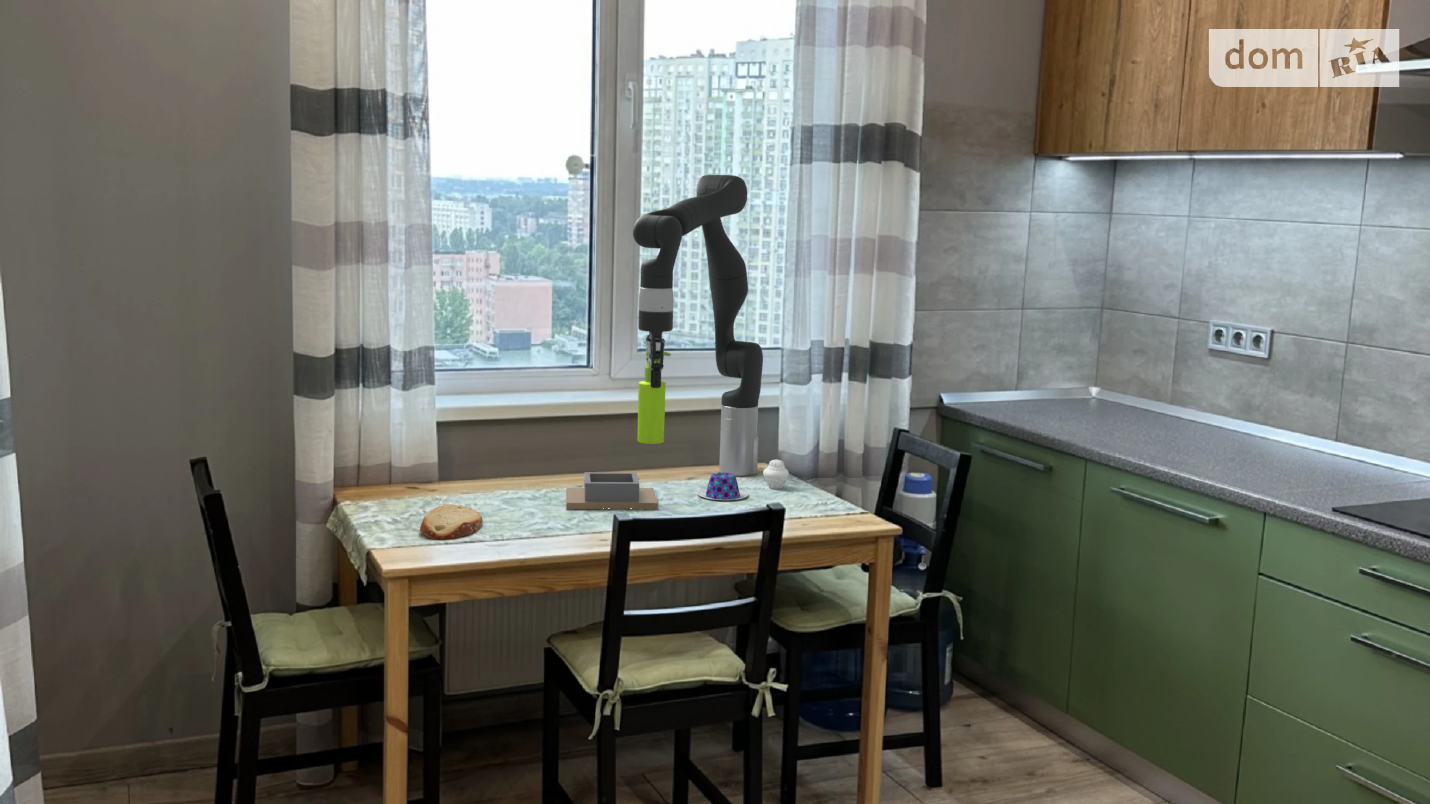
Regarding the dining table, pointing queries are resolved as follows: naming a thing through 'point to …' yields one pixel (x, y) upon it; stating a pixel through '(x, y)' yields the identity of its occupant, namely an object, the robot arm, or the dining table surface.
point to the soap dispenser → (651, 409)
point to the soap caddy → (611, 492)
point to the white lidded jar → (776, 474)
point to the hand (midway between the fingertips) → (654, 384)
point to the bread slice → (450, 522)
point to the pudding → (723, 487)
